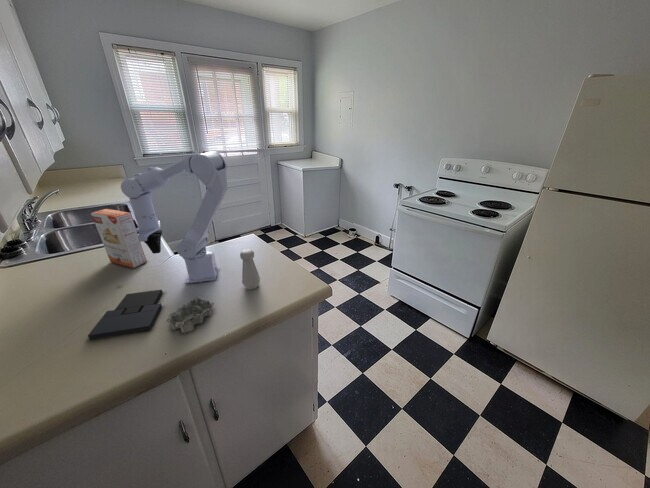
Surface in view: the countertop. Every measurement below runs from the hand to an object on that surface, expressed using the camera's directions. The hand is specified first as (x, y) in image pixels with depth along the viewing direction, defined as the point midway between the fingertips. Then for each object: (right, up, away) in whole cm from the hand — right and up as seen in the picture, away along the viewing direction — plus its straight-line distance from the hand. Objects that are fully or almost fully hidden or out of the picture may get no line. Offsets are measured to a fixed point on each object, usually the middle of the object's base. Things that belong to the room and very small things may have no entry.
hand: (156, 252), depth 93 cm
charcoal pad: (+4, -19, -19) cm, 27 cm away
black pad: (+2, -16, -12) cm, 20 cm away
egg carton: (+21, -18, -18) cm, 33 cm away
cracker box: (-20, -5, +14) cm, 25 cm away
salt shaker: (+34, -11, -3) cm, 36 cm away
